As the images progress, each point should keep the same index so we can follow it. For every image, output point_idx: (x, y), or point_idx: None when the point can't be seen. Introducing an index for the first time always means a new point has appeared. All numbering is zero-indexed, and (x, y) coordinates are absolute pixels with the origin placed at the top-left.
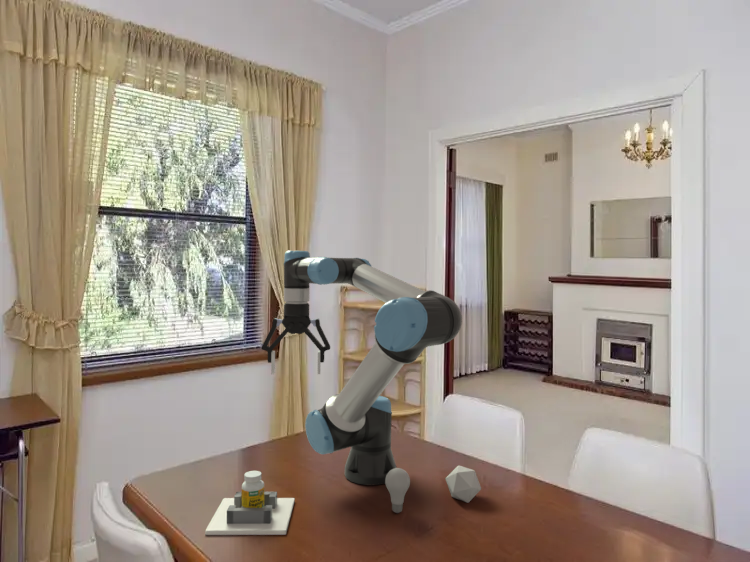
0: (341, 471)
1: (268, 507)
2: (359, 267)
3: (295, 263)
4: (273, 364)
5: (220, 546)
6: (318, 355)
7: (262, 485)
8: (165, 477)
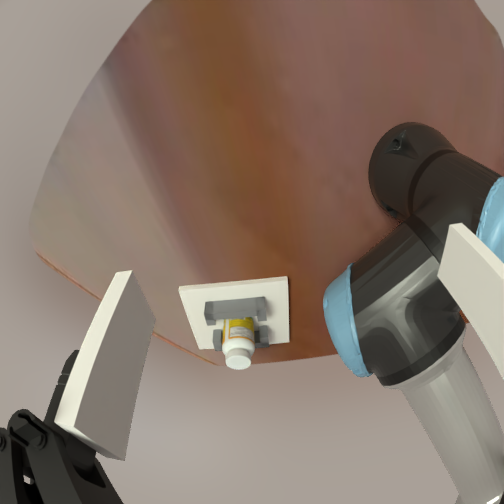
0: (362, 155)
1: (264, 342)
2: None
3: None
4: (138, 373)
5: (225, 357)
6: (501, 366)
7: (253, 352)
8: (51, 223)
